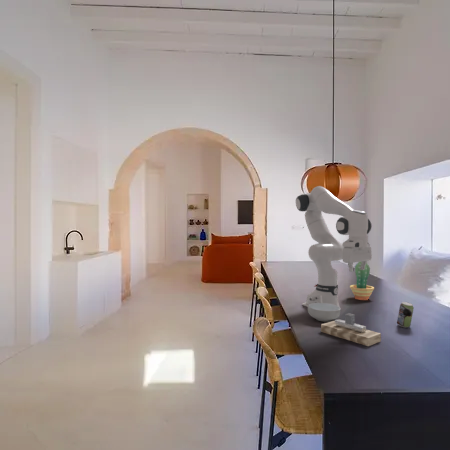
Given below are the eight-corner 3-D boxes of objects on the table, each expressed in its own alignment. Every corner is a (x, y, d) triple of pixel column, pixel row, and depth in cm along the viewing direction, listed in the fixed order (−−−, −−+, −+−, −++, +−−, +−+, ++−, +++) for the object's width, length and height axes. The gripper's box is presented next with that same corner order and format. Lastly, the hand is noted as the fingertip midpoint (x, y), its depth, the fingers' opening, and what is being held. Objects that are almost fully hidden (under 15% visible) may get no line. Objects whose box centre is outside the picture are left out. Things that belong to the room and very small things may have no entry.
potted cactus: (374, 297, 241) (375, 260, 241) (373, 302, 227) (374, 263, 227) (350, 295, 248) (351, 259, 247) (348, 299, 234) (348, 262, 233)
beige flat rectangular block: (321, 331, 167) (321, 324, 167) (333, 327, 173) (334, 320, 173) (368, 346, 148) (368, 338, 148) (380, 341, 154) (380, 333, 154)
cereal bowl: (318, 325, 177) (318, 311, 177) (301, 316, 193) (301, 303, 193) (347, 322, 182) (347, 309, 182) (329, 314, 198) (329, 301, 198)
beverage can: (398, 323, 180) (398, 300, 180) (414, 326, 175) (415, 302, 175) (395, 326, 175) (395, 302, 175) (411, 329, 170) (412, 304, 170)
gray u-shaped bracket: (334, 333, 165) (334, 311, 165) (338, 331, 167) (338, 310, 167) (362, 341, 154) (362, 318, 154) (365, 339, 156) (366, 317, 155)
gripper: (363, 241, 185) (363, 267, 185) (340, 243, 172) (339, 271, 173) (375, 242, 179) (374, 269, 180) (351, 244, 167) (350, 273, 168)
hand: (357, 270), depth 176 cm, fingers open, 8 cm apart
